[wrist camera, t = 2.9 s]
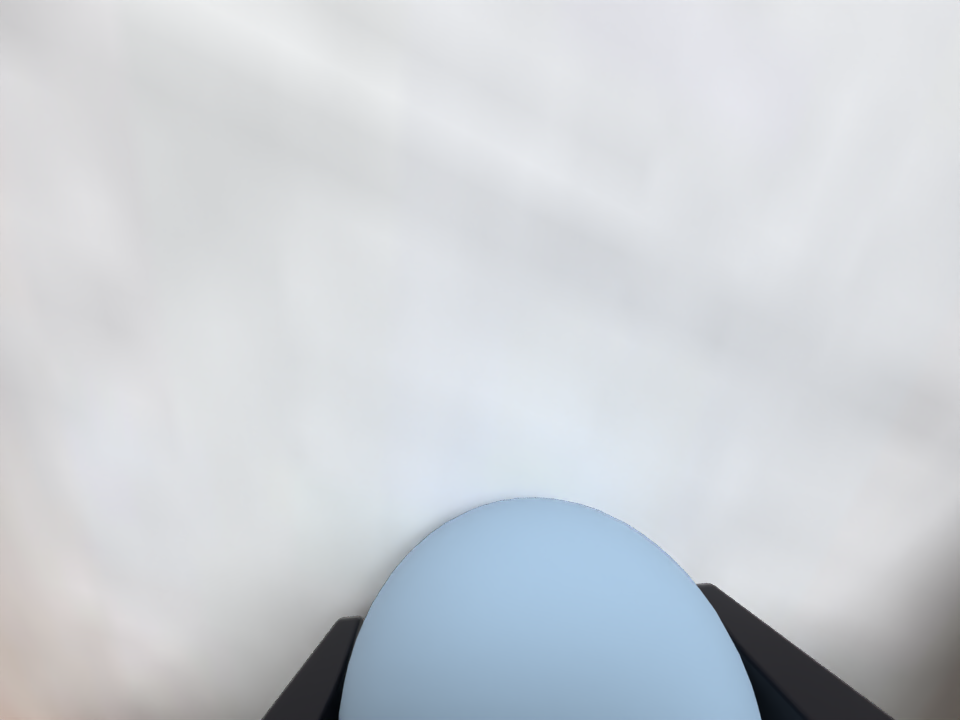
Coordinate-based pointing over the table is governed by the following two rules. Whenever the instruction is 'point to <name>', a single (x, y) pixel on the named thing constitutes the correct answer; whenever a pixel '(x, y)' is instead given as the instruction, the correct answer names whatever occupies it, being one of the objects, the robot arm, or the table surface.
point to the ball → (543, 627)
